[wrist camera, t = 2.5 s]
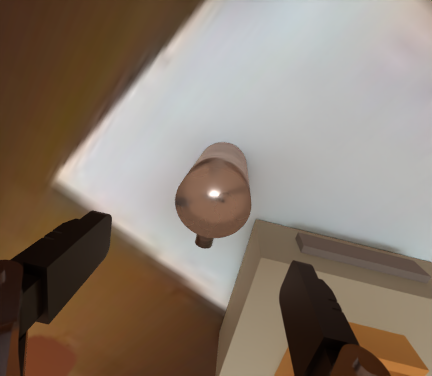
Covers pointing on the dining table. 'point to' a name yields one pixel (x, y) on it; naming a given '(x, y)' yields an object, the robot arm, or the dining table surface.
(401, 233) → the dining table surface
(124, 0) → the dining table surface
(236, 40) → the dining table surface
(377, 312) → the slab with orange tray
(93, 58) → the dining table surface
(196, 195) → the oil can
